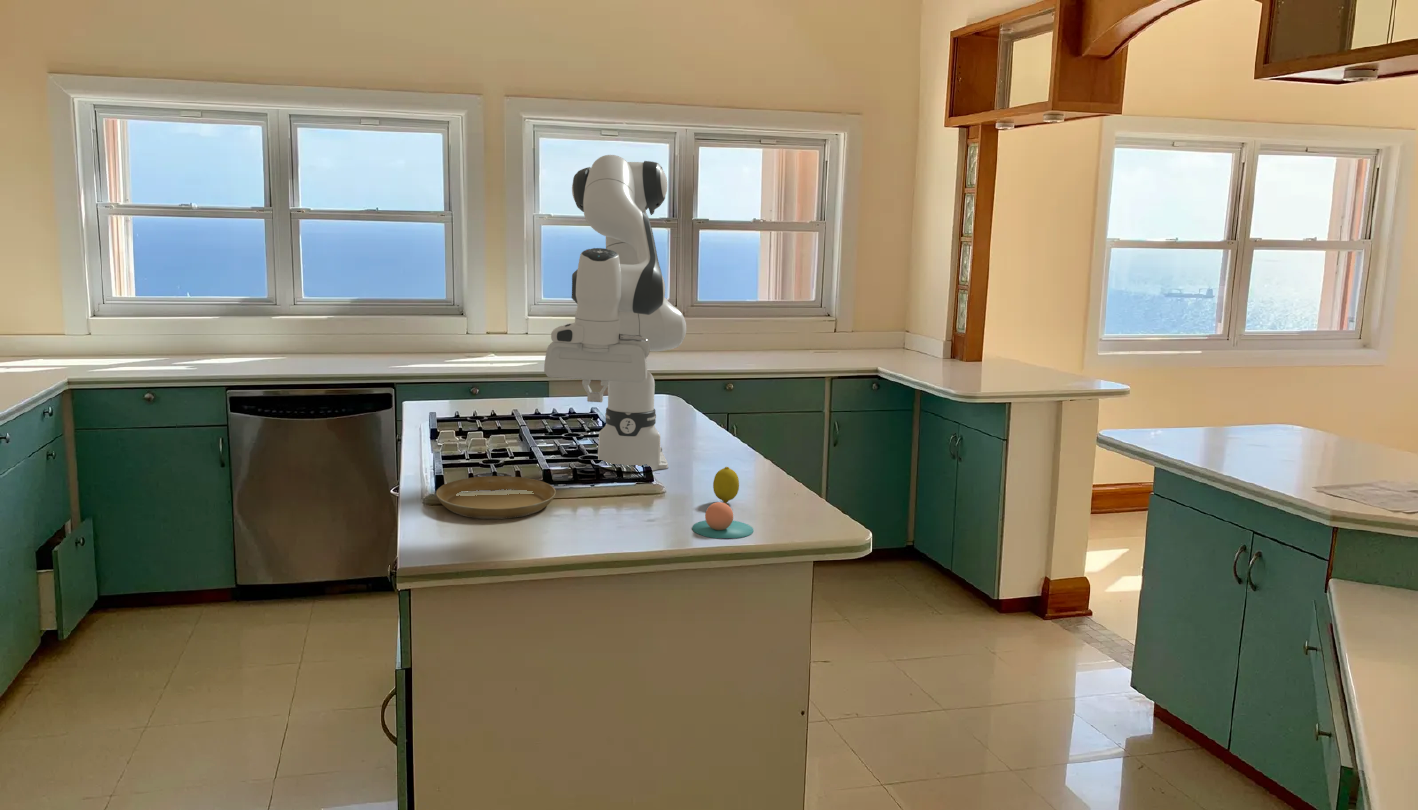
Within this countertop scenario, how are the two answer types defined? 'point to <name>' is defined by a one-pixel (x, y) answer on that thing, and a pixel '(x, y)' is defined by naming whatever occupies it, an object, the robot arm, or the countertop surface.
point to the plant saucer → (496, 497)
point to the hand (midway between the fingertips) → (595, 401)
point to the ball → (719, 516)
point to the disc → (732, 531)
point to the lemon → (726, 484)
